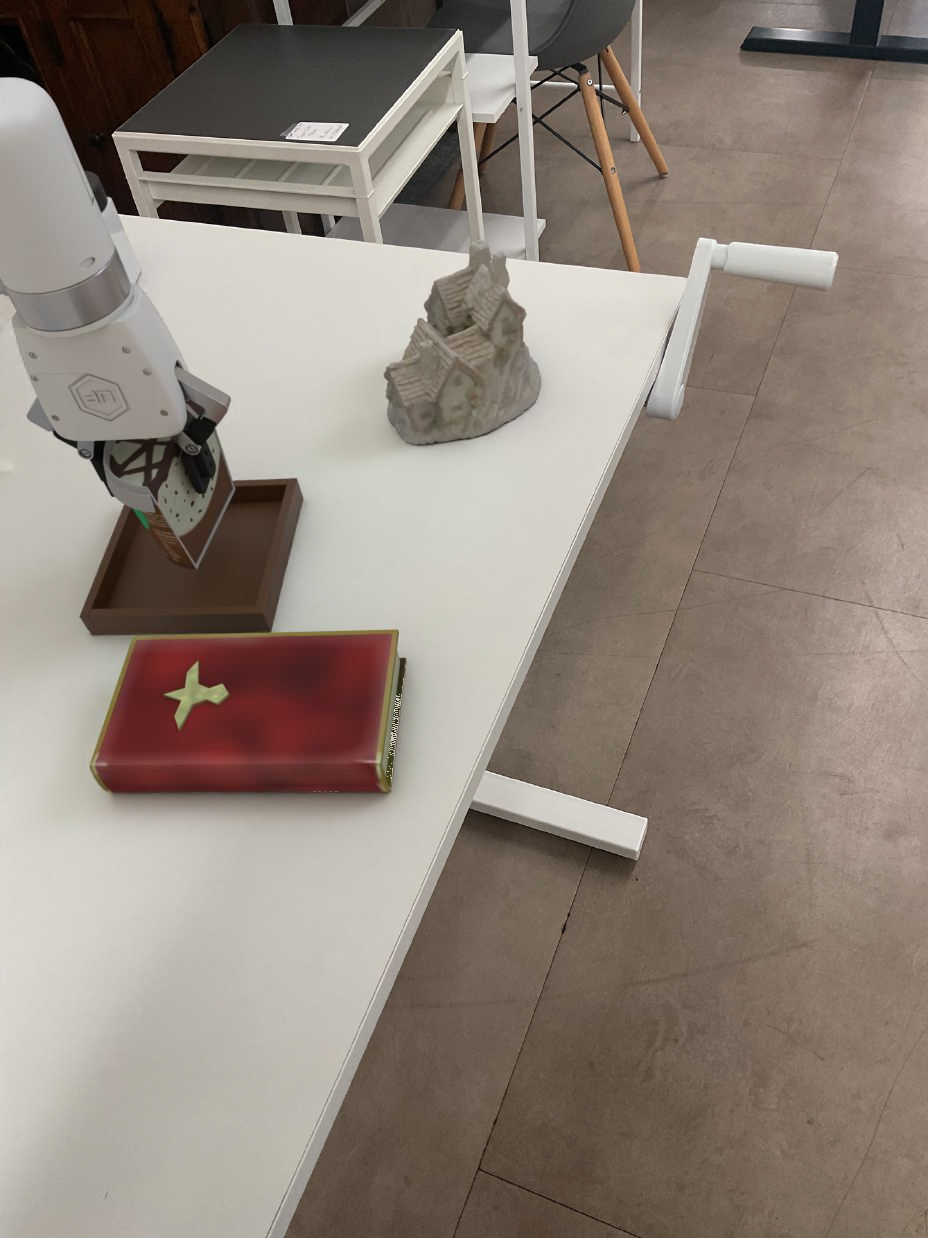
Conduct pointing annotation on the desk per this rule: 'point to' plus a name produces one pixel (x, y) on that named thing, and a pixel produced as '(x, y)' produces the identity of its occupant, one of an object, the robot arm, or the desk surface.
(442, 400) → the ceramic cottage
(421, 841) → the desk surface
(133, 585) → the tray
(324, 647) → the hardcover book
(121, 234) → the jar
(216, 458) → the food container
